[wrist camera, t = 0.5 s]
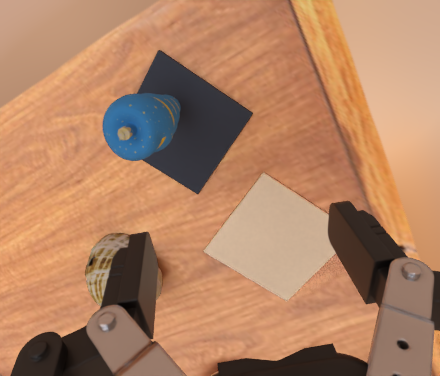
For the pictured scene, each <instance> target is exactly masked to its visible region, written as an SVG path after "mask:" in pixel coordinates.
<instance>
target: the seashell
mask: <svg viewBox="0 0 440 376" xmlns="http://www.w3.org/2000/svg"><path fill="white" fill-rule="evenodd" d="M129 238H130V236H128V235H126V234H110V235H107V236H105V237H104V238H102V239H101V240H100V241H99V242H97V243H96V245H95V246H94V247H93V248H92V250H91V254H90V257H89V260H88V263H87V266H86V270H85V276H86V278H87V280H86V282H87V286H88V290H89V292H90V294H91V296H92V298H93V299H94V301H95V302H96V303H97V304H99V305H100V306H101V304H102V299H103V295H104V291H105V287H106V283H107V279H108V277H109V276H108V275H109V271H110V267H111V263H112V258H113V257H114V255H115V254H116V252H117V251H118V250H119V248H124V247H128V243H129ZM162 283H163V279H162V273H161V270H160V269H159V267H158V278H157V292H156V300H157V299H158V297H159V296H160V294H161V288H162Z"/></svg>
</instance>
